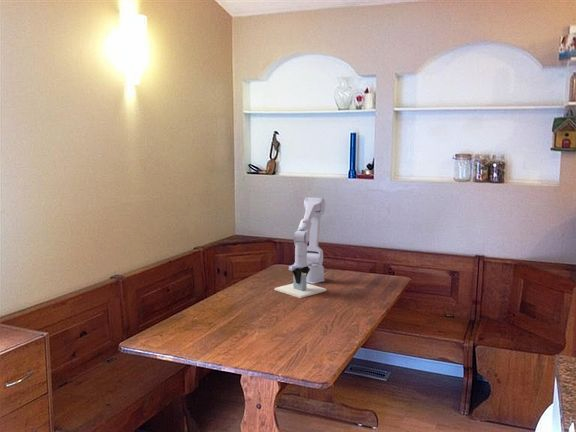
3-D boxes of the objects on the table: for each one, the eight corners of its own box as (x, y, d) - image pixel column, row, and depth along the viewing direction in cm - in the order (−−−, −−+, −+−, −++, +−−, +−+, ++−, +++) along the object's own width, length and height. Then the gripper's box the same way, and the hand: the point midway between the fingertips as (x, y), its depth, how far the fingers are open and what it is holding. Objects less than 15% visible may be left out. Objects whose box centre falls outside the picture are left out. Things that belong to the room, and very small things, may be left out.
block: (297, 287, 261) (297, 271, 260) (306, 289, 256) (306, 273, 255) (293, 288, 259) (293, 272, 258) (302, 290, 254) (302, 274, 253)
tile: (300, 283, 271) (300, 281, 271) (326, 290, 259) (326, 288, 258) (274, 290, 259) (274, 288, 259) (300, 298, 246) (300, 296, 246)
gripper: (305, 251, 263) (305, 278, 265) (284, 256, 253) (284, 283, 255) (315, 254, 258) (315, 281, 260) (294, 258, 248) (294, 286, 250)
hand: (300, 282), depth 257 cm, fingers closed on block, 3 cm apart
